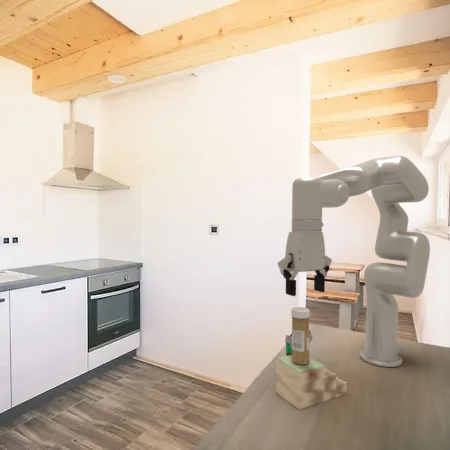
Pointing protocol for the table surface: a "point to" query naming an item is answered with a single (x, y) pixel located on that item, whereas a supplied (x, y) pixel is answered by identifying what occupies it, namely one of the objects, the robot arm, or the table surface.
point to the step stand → (306, 382)
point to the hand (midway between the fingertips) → (305, 293)
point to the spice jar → (300, 335)
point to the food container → (289, 343)
